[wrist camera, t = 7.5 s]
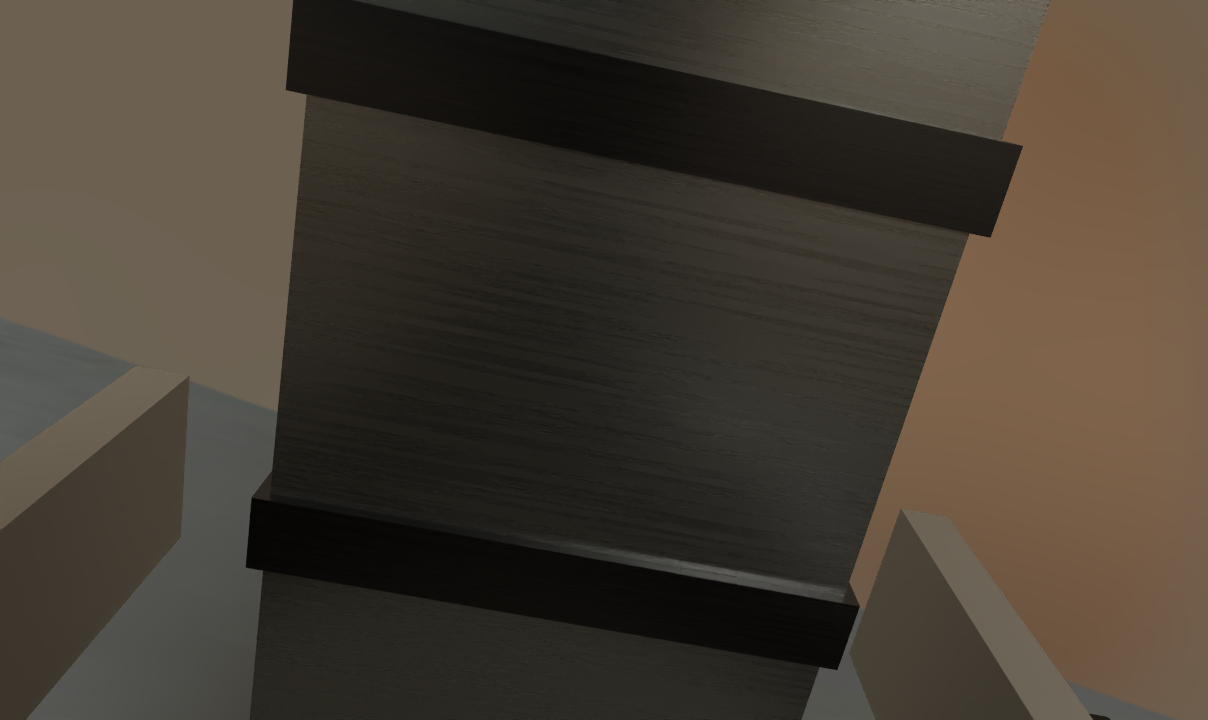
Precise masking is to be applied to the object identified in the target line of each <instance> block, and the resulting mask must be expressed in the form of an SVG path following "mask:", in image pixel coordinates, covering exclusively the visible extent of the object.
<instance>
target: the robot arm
mask: <svg viewBox="0 0 1208 720" xmlns="http://www.w3.org/2000/svg"><path fill="white" fill-rule="evenodd" d="M188 393H189V376H187V375H183V374H178V373H172V372H167V371H161V370H156V369H151V368H145V367H140V366H136V367H134V368H133V369H131V370H130V371H129V372H127V373H126V374H124V375H123V376H121V377H120V378H119V379H117V380H116V381H114V382H113V383H112V384H110V385H109V386H107V387H106V388H104V389H103V390H102V391H100V392H99V393H97V394H96V395H94V396H93V397H92V398H90V399H89V400H87V401H86V402H85V403H83V404H82V405H80V406H79V407H77V408H76V409H75V410H73V411H72V412H70V413H69V414H67V415H66V416H65V417H63V418H62V419H60V420H59V421H58V422H56V423H55V424H53V425H52V426H50V427H49V428H48V429H46V430H45V431H43V432H42V433H40V434H39V435H38V436H36V437H35V438H33V439H32V440H31V441H29V442H28V443H26V444H25V445H23V446H22V447H21V448H19V449H18V450H16V451H15V452H13V453H12V454H11V455H9V456H8V457H6V458H5V459H4V460H2V461H1V462H0V720H26V719H27V717H28V716H29V715H30V714H31V713H32V712H33V710H34V709H35V708H36V707H37V706H38V704H39V703H40V702H41V701H42V700H43V699H44V697H45V696H46V695H47V694H48V693H49V691H50V690H51V689H52V688H53V687H54V686H55V684H56V683H57V682H58V681H59V680H60V678H61V677H62V676H63V675H64V674H65V673H66V671H67V670H68V669H69V668H70V667H71V665H72V664H73V663H74V662H75V661H76V660H77V658H78V657H79V656H80V655H81V654H82V652H83V651H84V650H85V649H86V648H87V647H88V645H89V644H90V643H91V642H92V641H93V640H94V638H95V637H96V636H97V635H98V634H99V632H100V631H101V630H102V629H103V628H104V627H105V625H106V624H107V623H108V622H109V621H110V619H111V618H112V617H113V616H114V615H115V614H116V612H117V611H118V610H119V609H120V608H121V606H122V605H123V604H124V603H125V602H126V601H127V599H128V598H129V597H130V596H131V595H132V593H133V592H134V591H135V590H136V589H137V588H138V586H139V585H140V584H141V583H142V582H143V580H144V579H145V578H146V577H147V576H148V575H149V573H150V572H151V571H152V570H153V569H154V568H155V566H156V565H157V564H158V563H159V562H160V560H161V559H162V558H163V557H164V556H165V555H166V553H167V552H168V551H169V550H170V549H171V547H172V546H173V545H174V544H175V543H176V542H177V540H178V539H179V538H180V537H181V521H182V503H183V484H184V466H185V448H186V430H187V411H188ZM849 654H850V656H851V659H852V661H853V664H854V666H855V669H856V671H857V674H858V676H859V679H860V681H861V684H862V687H863V689H864V692H865V694H866V697H867V699H868V702H869V704H870V707H871V709H872V712H873V714H874V717H875V719H876V720H1110V719H1109V718H1108V717H1105V716H1099V715H1093V714H1089V713H1088V712H1087V711H1086V709H1085V708H1084V706H1083V705H1082V704H1081V702H1080V701H1079V699H1078V698H1077V697H1076V695H1075V694H1074V692H1073V691H1072V690H1071V688H1070V687H1069V685H1068V684H1067V683H1066V681H1065V680H1064V678H1063V677H1062V676H1061V674H1060V673H1059V672H1058V670H1057V669H1056V667H1055V666H1054V664H1053V663H1052V662H1051V660H1050V659H1049V657H1048V656H1047V655H1046V653H1045V652H1044V651H1043V649H1042V648H1041V646H1040V645H1039V644H1038V642H1037V641H1036V639H1035V638H1034V637H1033V635H1032V634H1031V632H1030V631H1029V630H1028V628H1027V627H1026V625H1025V624H1024V623H1023V621H1022V620H1021V618H1020V617H1019V616H1018V614H1017V613H1016V611H1015V610H1014V609H1013V607H1012V606H1011V604H1010V603H1009V602H1008V600H1007V599H1006V597H1005V596H1004V595H1003V593H1002V592H1001V591H1000V589H999V588H998V586H997V585H996V583H995V582H994V581H993V580H992V578H991V576H990V575H989V574H988V572H987V571H986V570H985V568H984V567H983V566H982V564H981V563H980V561H979V560H978V558H977V557H976V556H975V554H974V553H973V551H972V550H971V549H970V547H969V546H968V545H967V543H966V542H965V540H964V539H963V537H962V536H961V535H960V533H959V532H958V530H957V529H956V528H955V526H954V525H953V523H952V522H951V521H950V519H949V518H948V517H944V516H939V515H934V514H928V513H923V512H917V511H912V510H907V509H901V510H900V513H899V515H898V518H897V521H896V524H895V527H894V529H893V532H892V535H891V538H890V541H889V543H888V546H887V549H886V552H885V555H884V557H883V560H882V563H881V566H880V569H879V571H878V574H877V577H876V580H875V583H874V585H873V588H872V591H871V594H870V597H869V599H868V602H867V605H866V608H865V611H864V613H863V616H862V619H861V622H860V625H859V627H858V630H857V633H856V636H855V639H854V641H853V644H852V647H851V650H850V653H849Z"/></svg>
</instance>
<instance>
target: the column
mask: <svg viewBox="0 0 1208 720" xmlns="http://www.w3.org/2000/svg"><path fill="white" fill-rule="evenodd" d="M1049 2H1050V0H293V10H292V22H291V34H290V46H289V59H288V70H287V83H286V90H288V91H293V92H297V93H302V94H307V97H306V108H305V119H304V130H303V141H302V153H301V164H300V175H299V185H298V196H297V207H296V219H295V229H294V240H293V251H292V262H291V272H290V284H289V295H288V306H287V316H286V328H285V338H284V349H283V360H282V371H281V382H280V393H279V404H278V415H277V426H276V437H275V448H274V458H273V469H272V472H271V473H270V474H269V476H268V477H267V478H266V480H265V481H264V482H263V483H262V485H261V486H260V487H259V489H258V490H257V491H256V493H255V494H254V495H253V497H252V500H251V512H250V524H249V536H248V548H247V559H246V568H251V569H257V570H263V579H262V590H261V601H260V612H259V623H258V634H257V645H256V656H255V666H254V677H253V688H252V699H251V710H250V720H801V719H802V716H803V713H804V710H805V707H806V704H807V702H808V699H809V696H810V693H811V690H812V687H813V684H814V681H815V678H816V676H817V673H818V670H819V667H822V668H828V669H834V670H837V669H838V666H839V664H840V661H841V658H842V655H843V652H844V650H845V647H846V644H847V641H848V638H849V635H850V633H851V630H852V627H853V624H854V621H855V619H856V616H857V613H858V610H859V607H860V606H859V603H858V601H857V599H856V597H855V595H854V592H853V590H852V588H851V586H850V583H849V580H850V577H851V574H852V572H853V569H854V566H855V563H856V560H857V557H858V554H859V551H860V548H861V546H862V543H863V540H864V537H865V534H866V531H867V528H868V525H869V522H870V520H871V516H872V514H873V511H874V508H875V505H876V502H877V499H878V496H879V493H880V491H881V488H882V484H883V481H884V479H885V476H886V473H887V470H888V467H889V465H890V462H891V459H892V456H893V453H894V450H895V447H896V444H897V441H898V439H899V435H900V433H901V430H902V427H903V424H904V421H905V418H906V415H907V413H908V410H909V407H910V404H911V401H912V398H913V395H914V392H915V389H916V387H917V384H918V380H919V378H920V375H921V372H922V369H923V366H924V363H925V361H926V358H927V355H928V352H929V349H930V346H931V343H932V340H933V337H934V334H935V331H936V329H937V325H938V323H939V320H940V317H941V314H942V311H943V309H944V306H945V303H946V300H947V297H948V294H949V291H950V288H951V285H952V283H953V279H954V277H955V274H956V271H957V268H958V265H959V262H960V259H961V256H962V254H963V251H964V248H965V245H966V242H967V239H968V236H969V233H971V234H975V235H980V236H985V237H991V235H992V232H993V229H994V226H995V224H996V221H997V218H998V215H999V212H1000V209H1001V207H1002V204H1003V201H1004V198H1005V195H1006V192H1007V190H1008V187H1009V184H1010V181H1011V178H1012V176H1013V173H1014V170H1015V167H1016V164H1017V161H1018V159H1019V156H1020V153H1021V150H1022V147H1023V146H1021V145H1017V144H1013V143H1009V142H1006V141H1002V138H1003V135H1004V132H1005V129H1006V126H1007V124H1008V121H1009V117H1010V115H1011V112H1012V109H1013V106H1014V103H1015V100H1016V98H1017V95H1018V92H1019V89H1020V86H1021V83H1022V80H1023V77H1024V74H1025V71H1026V69H1027V65H1028V63H1029V60H1030V57H1031V54H1032V51H1033V48H1034V45H1035V43H1036V40H1037V37H1038V34H1039V31H1040V28H1041V25H1042V22H1043V19H1044V17H1045V14H1046V11H1047V8H1048V5H1049Z"/></svg>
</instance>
